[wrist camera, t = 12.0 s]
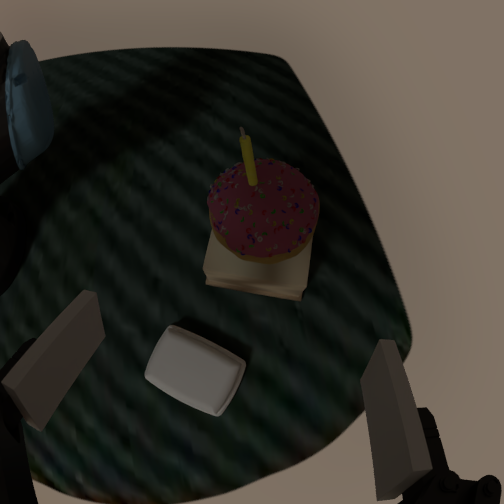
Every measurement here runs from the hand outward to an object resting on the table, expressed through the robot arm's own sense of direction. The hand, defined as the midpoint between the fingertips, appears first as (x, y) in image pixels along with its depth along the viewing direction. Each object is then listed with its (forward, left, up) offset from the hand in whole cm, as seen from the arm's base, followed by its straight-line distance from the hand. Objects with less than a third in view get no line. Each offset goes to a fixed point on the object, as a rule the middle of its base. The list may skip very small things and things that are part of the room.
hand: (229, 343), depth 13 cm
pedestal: (0, +11, -17) cm, 20 cm away
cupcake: (0, +11, -12) cm, 16 cm away
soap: (-4, -3, -17) cm, 18 cm away
